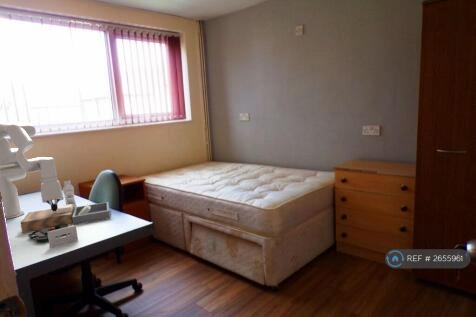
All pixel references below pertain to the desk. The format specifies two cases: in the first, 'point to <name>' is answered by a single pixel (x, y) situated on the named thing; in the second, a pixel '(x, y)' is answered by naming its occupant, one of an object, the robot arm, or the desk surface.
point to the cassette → (62, 240)
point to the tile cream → (65, 208)
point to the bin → (91, 213)
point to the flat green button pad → (43, 235)
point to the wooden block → (45, 220)
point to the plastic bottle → (69, 193)
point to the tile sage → (84, 210)
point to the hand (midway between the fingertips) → (54, 210)
